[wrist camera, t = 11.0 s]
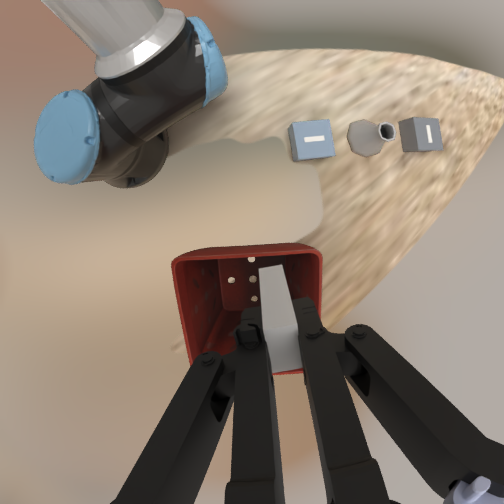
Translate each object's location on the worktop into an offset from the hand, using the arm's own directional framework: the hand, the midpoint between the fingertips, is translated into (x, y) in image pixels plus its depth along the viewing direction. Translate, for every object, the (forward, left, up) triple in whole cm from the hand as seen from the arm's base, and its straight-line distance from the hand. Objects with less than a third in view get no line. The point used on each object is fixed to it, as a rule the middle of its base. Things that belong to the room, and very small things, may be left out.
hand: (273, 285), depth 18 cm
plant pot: (+4, -11, -33) cm, 35 cm away
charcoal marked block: (+20, +28, -33) cm, 48 cm away
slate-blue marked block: (+2, +15, -33) cm, 37 cm away
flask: (+11, +22, -33) cm, 41 cm away
